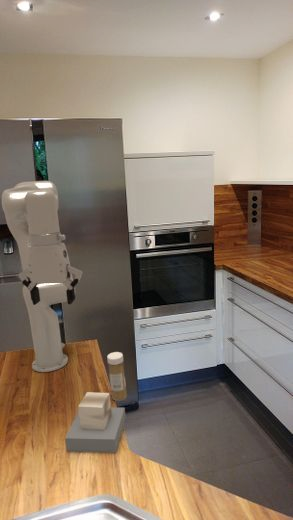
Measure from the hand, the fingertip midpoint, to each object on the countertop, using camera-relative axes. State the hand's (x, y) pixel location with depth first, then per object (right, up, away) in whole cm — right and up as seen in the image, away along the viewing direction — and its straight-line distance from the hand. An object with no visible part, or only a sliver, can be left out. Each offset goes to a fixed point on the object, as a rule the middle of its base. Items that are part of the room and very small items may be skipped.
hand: (53, 302), depth 95 cm
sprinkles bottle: (+17, -29, +9) cm, 35 cm away
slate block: (+13, -33, -6) cm, 36 cm away
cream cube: (+12, -29, -6) cm, 32 cm away
